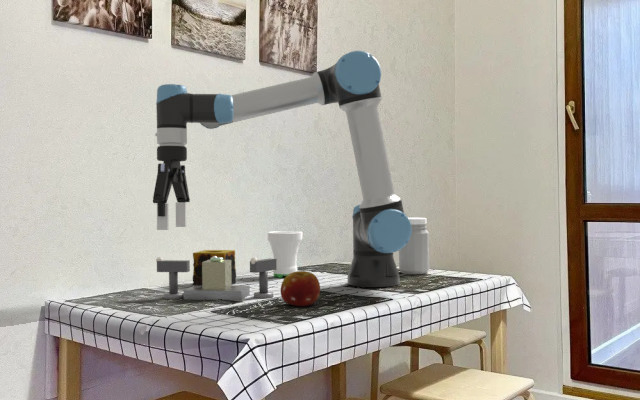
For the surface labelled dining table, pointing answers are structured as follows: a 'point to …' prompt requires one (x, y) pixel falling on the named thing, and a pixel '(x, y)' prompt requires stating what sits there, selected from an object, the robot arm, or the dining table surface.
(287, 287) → the fruit
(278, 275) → the cup
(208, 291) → the level base
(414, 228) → the jar
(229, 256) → the candle
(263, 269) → the knob
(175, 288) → the knob
